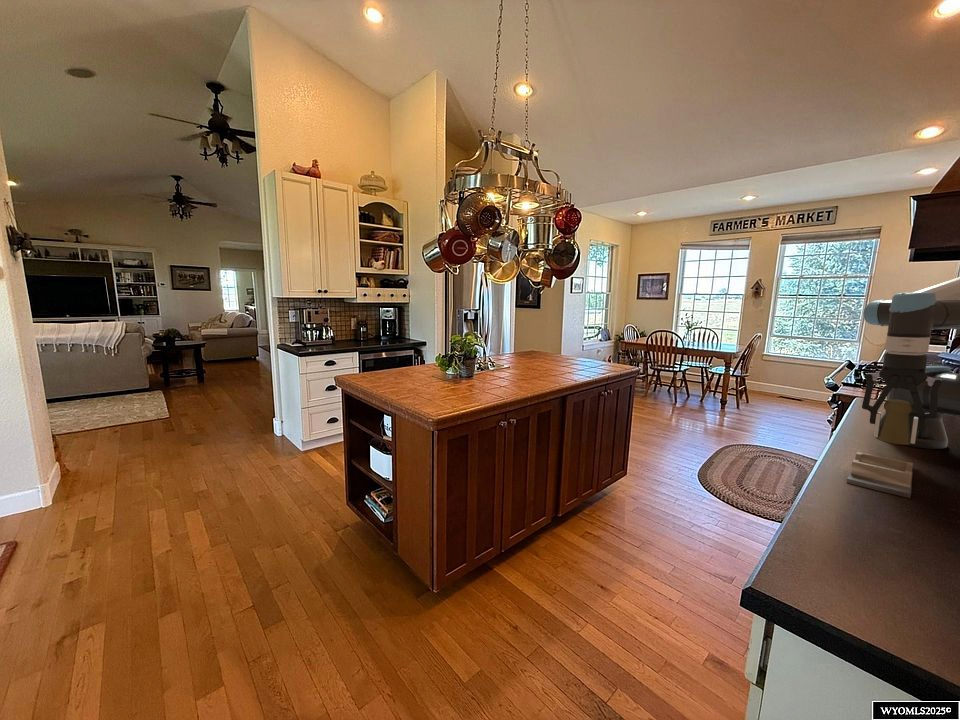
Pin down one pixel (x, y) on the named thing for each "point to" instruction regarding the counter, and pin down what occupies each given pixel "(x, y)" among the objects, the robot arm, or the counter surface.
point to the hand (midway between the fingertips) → (893, 438)
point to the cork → (896, 422)
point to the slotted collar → (881, 474)
